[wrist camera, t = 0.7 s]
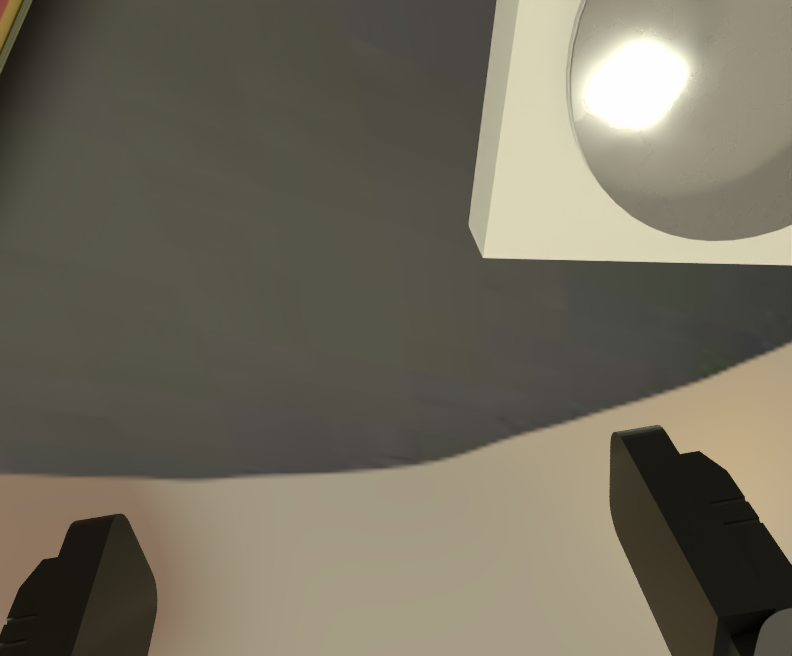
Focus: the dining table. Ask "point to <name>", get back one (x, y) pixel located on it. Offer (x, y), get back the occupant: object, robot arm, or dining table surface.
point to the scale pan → (687, 111)
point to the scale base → (562, 163)
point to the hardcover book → (10, 25)
